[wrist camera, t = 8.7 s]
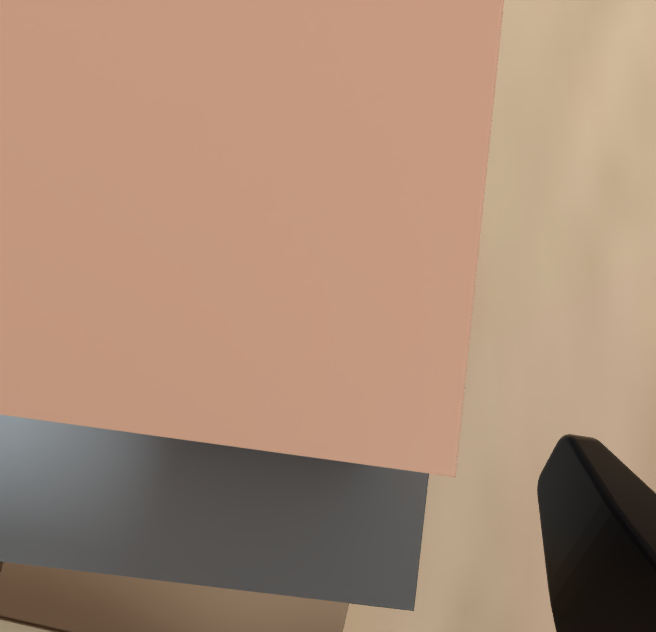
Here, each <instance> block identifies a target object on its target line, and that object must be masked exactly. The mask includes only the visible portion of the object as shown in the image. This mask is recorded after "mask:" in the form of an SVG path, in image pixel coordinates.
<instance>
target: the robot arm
mask: <svg viewBox="0 0 656 632" xmlns="http://www.w3.org/2000/svg"><path fill="white" fill-rule="evenodd" d="M537 493H538V503H539V511H540V520H541V529H542V537H543V546H544V555H545V563H546V572H547V581H548V589H549V595H550V602H551V608H552V613H553V618H554V623H555V627H556V631H557V632H656V493H655V492H654V491H653V490H652V489H650V488H649V487H648V486H647V485H646V484H645V483H644V482H643V481H642V480H641V479H640V478H639V477H638V476H636V475H635V474H634V473H633V472H632V471H631V470H630V469H629V468H628V467H627V466H626V465H625V464H624V463H622V462H621V461H620V460H619V459H618V458H617V457H616V456H615V455H614V454H613V453H612V452H611V451H610V450H608V449H607V448H606V447H605V446H604V445H603V444H602V443H601V442H600V441H598V440H597V439H594V438H591V437H585V436H578V435H571V434H568V435H564V436H563V437H562V438H560V440H559V441H558V443H557V444H556V446H555V448H554V450H553V452H552V454H551V456H550V457H549V459H548V461H547V463H546V465H545V467H544V468H543V470H542V472H541V474H540V477H539V480H538V487H537Z"/></svg>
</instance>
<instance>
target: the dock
mask: <svg viewBox="0 0 656 632" xmlns="http://www.w3.org/2000/svg"><path fill="white" fill-rule="evenodd" d="M348 606H349V603H343V602H335V601H326V600H318V599H309V598H301V597H293V596H284V595H276V594H268V593H259V592H251V591H243V590H234V589H226V588H218V587H209V586H201V585H192V584H184V583H176V582H167V581H159V580H151V579H142V578H134V577H126V576H117V575H109V574H101V573H92V572H84V571H76V570H67V569H59V568H50V567H42V566H34V565H25V564H17V563H9V562H4V563H3V566H2V569H1V572H0V632H343V628H344V623H345V619H346V615H347V610H348Z"/></svg>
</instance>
